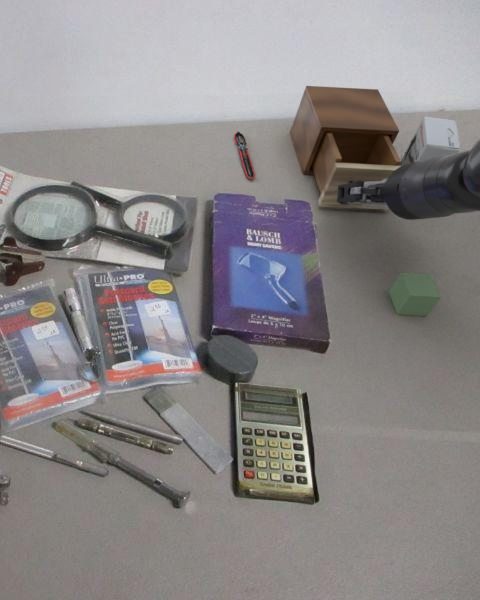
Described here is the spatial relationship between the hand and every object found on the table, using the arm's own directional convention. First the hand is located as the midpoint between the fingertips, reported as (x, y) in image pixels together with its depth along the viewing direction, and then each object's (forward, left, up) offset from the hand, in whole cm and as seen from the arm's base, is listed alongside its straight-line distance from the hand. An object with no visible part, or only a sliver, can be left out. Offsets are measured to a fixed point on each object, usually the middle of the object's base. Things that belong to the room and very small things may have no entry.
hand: (370, 199), depth 91 cm
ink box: (-11, -9, -5) cm, 15 cm away
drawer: (0, -6, -4) cm, 8 cm away
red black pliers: (+16, -16, -5) cm, 24 cm away
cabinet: (0, -18, -5) cm, 19 cm away
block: (-3, +17, -5) cm, 18 cm away
